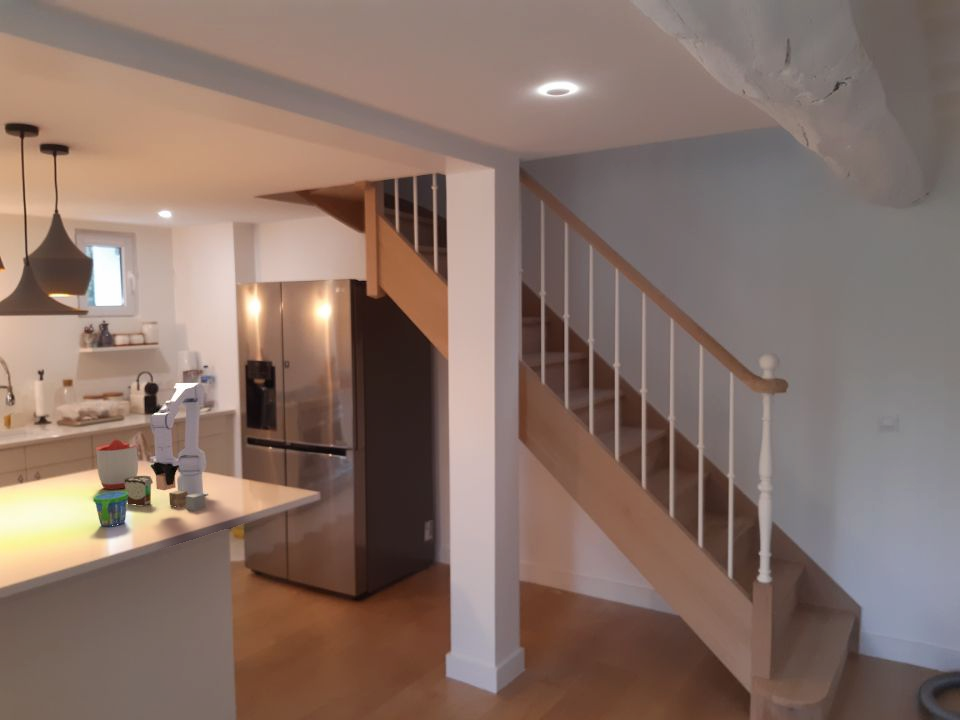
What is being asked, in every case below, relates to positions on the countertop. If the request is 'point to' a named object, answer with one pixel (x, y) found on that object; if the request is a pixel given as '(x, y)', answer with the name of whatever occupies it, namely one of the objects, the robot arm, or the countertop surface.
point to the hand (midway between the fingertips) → (165, 483)
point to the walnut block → (178, 498)
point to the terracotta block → (163, 482)
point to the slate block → (195, 501)
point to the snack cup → (111, 507)
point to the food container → (138, 489)
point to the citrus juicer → (116, 463)
